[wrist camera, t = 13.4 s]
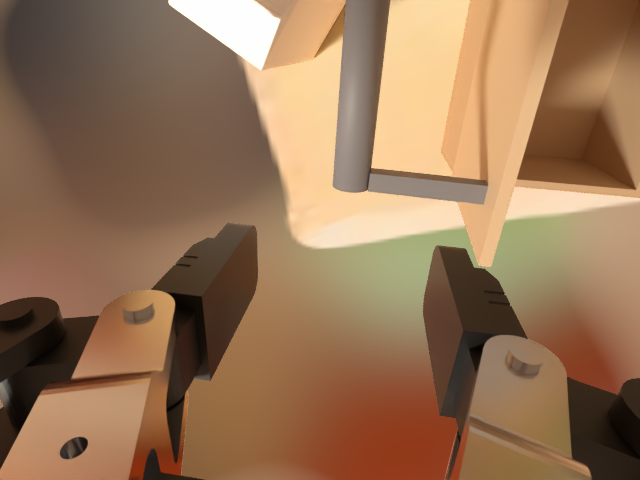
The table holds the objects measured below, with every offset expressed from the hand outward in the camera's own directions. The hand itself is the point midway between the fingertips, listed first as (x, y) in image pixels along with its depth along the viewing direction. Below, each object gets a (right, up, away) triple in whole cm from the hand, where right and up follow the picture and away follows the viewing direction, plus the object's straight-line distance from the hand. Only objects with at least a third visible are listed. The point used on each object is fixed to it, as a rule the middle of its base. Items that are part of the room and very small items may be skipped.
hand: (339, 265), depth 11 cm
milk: (-2, +22, +26) cm, 34 cm away
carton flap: (+10, +9, +11) cm, 18 cm away
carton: (+19, +16, +25) cm, 36 cm away
